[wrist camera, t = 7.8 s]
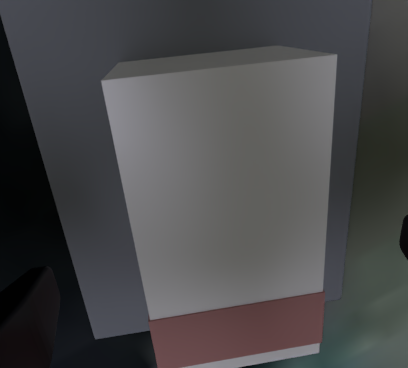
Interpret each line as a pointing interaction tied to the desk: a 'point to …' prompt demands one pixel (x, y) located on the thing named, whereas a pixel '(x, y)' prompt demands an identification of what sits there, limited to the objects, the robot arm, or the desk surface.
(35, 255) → the desk surface
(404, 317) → the desk surface
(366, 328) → the desk surface
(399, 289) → the desk surface
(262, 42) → the desk mat
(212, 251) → the card deck box
